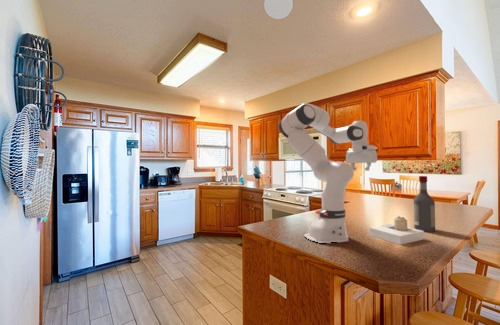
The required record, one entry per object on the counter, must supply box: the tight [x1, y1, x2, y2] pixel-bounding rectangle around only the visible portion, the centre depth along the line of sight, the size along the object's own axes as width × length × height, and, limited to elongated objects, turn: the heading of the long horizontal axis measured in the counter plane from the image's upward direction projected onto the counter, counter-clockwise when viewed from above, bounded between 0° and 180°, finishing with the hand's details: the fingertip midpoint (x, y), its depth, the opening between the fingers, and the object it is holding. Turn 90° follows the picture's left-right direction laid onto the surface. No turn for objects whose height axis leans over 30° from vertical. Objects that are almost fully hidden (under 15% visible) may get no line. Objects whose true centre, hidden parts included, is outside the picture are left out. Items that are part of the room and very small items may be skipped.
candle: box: [393, 215, 408, 232], centre depth 117 cm, size 6×6×10 cm
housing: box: [369, 223, 425, 246], centre depth 117 cm, size 18×16×4 cm
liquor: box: [413, 175, 436, 233], centre depth 129 cm, size 9×9×30 cm
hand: (360, 170), depth 140 cm, fingers open, 8 cm apart
